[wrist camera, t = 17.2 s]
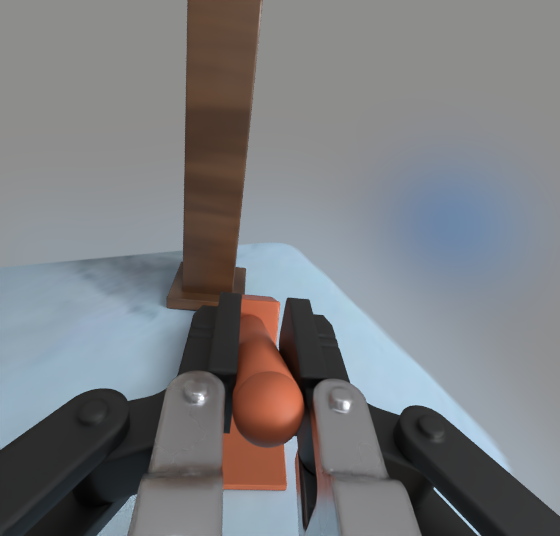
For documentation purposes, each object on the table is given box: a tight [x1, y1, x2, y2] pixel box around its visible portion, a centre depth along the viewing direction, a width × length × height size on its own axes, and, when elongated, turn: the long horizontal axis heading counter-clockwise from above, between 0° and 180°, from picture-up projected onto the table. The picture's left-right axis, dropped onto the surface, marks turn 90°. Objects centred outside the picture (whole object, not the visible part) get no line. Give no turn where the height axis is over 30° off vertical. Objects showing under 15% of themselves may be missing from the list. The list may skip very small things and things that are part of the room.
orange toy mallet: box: [232, 294, 304, 448], centre depth 14 cm, size 15×3×2 cm
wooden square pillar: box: [167, 0, 263, 311], centre depth 22 cm, size 6×6×32 cm
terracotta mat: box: [222, 413, 287, 490], centre depth 21 cm, size 13×6×1 cm, turn 3°
